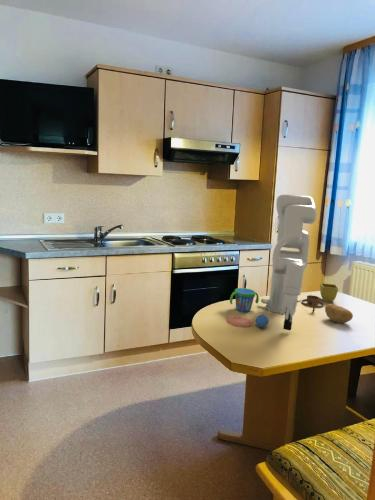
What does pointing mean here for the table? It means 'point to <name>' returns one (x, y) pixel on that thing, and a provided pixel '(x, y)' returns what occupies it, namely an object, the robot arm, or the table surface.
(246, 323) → the disc
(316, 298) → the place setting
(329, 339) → the table surface
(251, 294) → the snack cup
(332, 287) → the flower pot
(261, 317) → the ball
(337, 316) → the potato
